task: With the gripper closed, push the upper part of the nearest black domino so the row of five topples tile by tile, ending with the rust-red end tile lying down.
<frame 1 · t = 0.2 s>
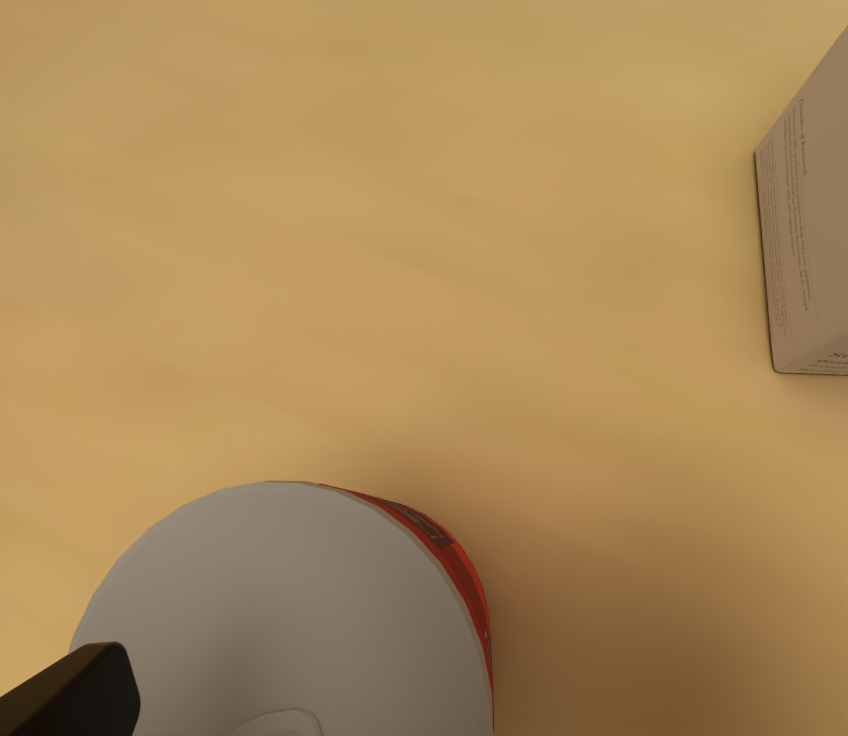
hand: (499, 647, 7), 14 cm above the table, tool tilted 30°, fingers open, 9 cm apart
canned food: (376, 620, 21), on the table
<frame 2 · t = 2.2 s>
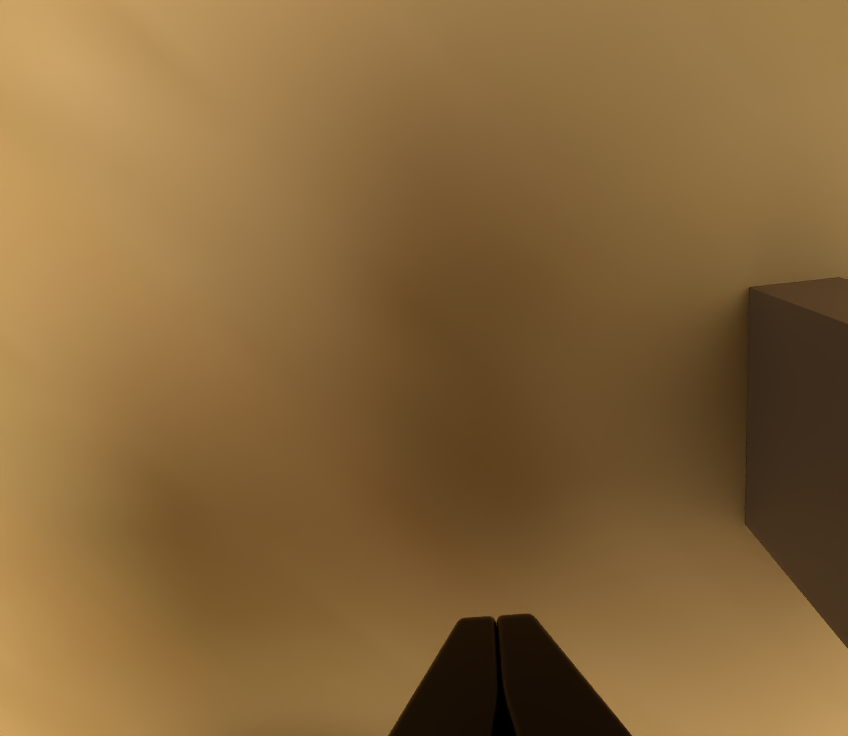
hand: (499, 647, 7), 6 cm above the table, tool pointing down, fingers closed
domino 1: (789, 408, 12), on the table
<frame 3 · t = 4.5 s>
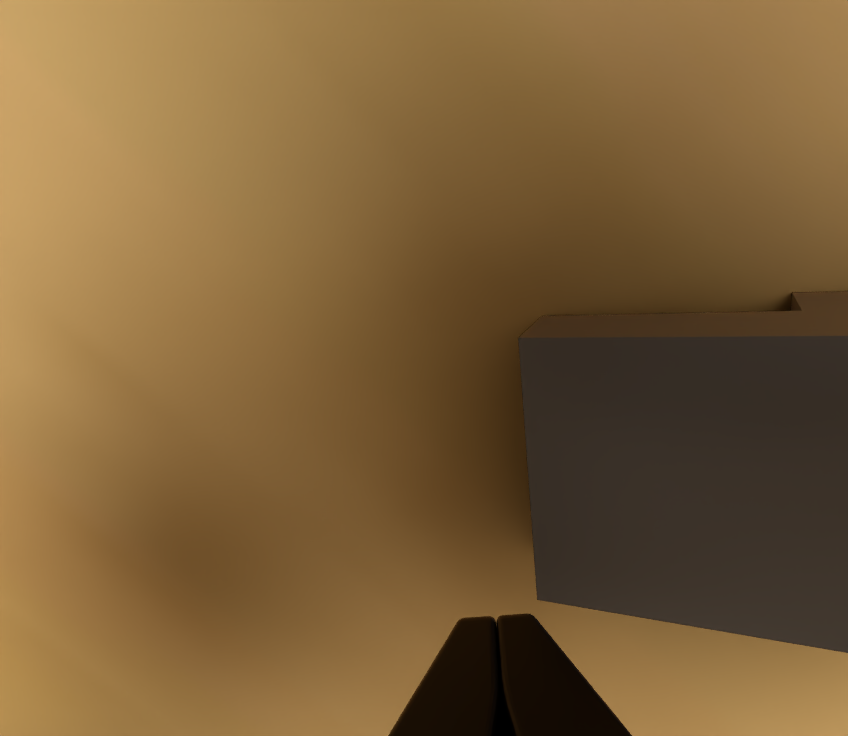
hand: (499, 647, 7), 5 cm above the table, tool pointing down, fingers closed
domino 2: (788, 438, 11), point 1 cm above the table, tilted 70°, touching domino 1, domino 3
domino 1: (539, 457, 12), point 1 cm above the table, tilted 69°, touching domino 2
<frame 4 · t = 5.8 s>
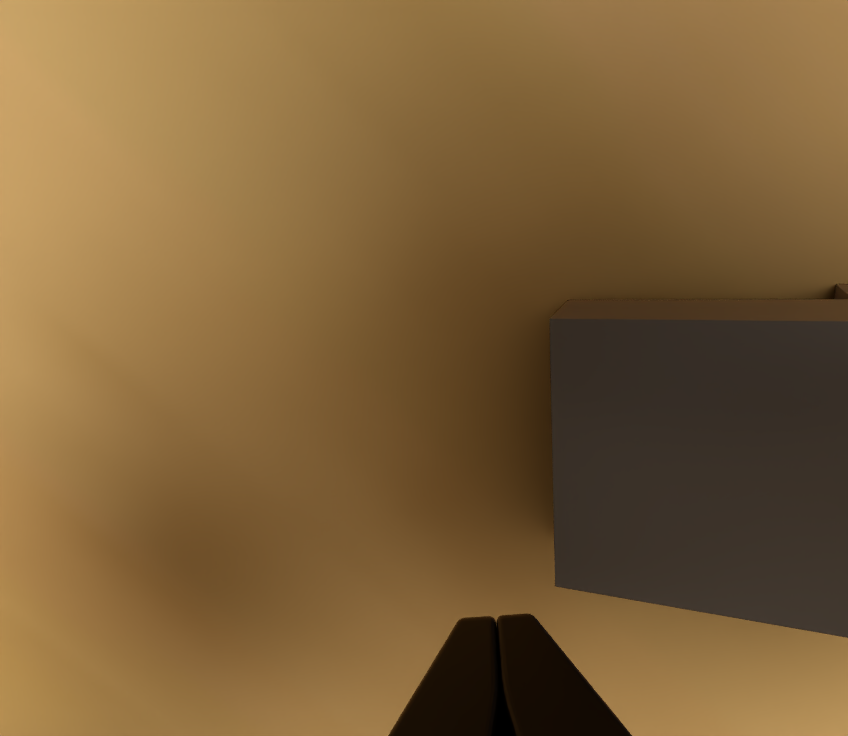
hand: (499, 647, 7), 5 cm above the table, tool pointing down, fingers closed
domino 1: (561, 442, 12), point 1 cm above the table, tilted 71°, touching domino 2
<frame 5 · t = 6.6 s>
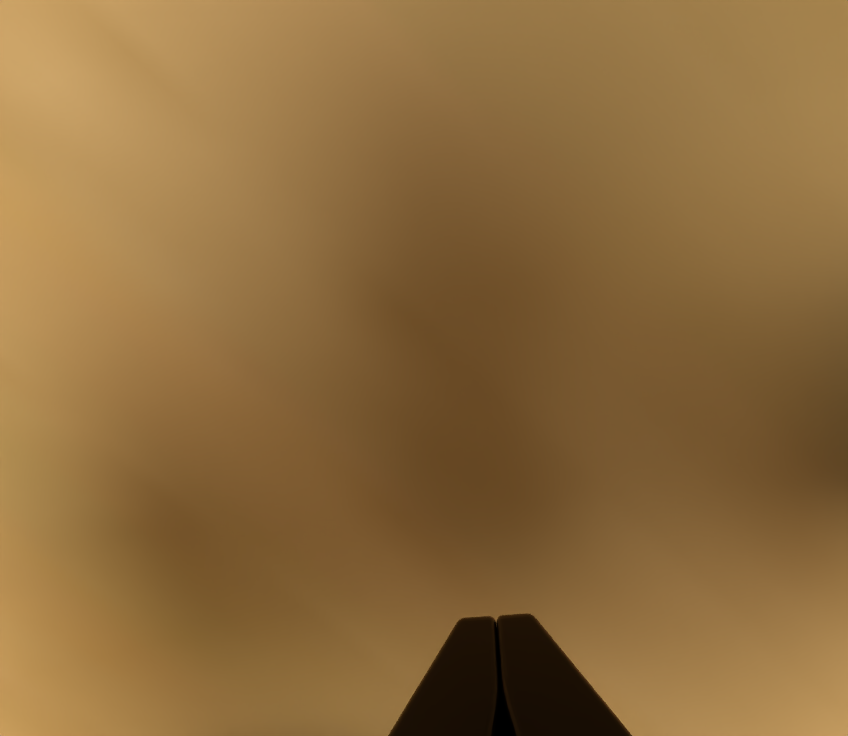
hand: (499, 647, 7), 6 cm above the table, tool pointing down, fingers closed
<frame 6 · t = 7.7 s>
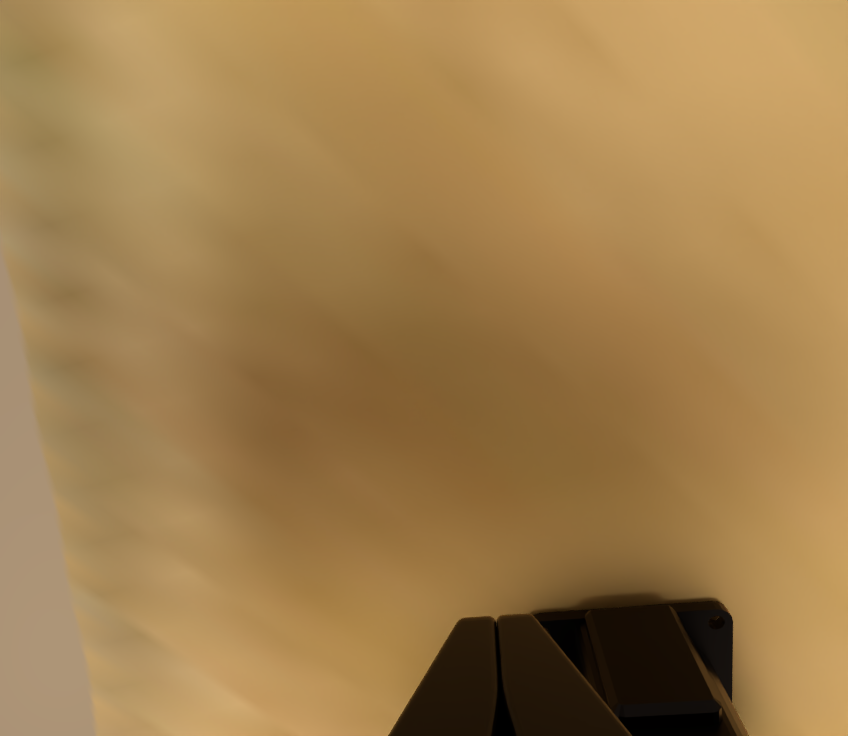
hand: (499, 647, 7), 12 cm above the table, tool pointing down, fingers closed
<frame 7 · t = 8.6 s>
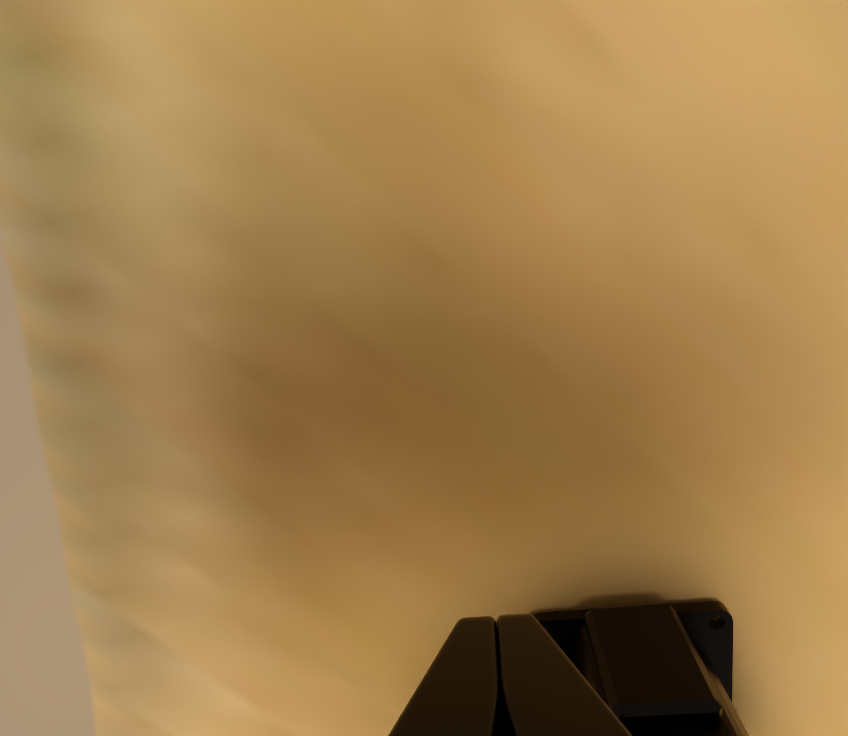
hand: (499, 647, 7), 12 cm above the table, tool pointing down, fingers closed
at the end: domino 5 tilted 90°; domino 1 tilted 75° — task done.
